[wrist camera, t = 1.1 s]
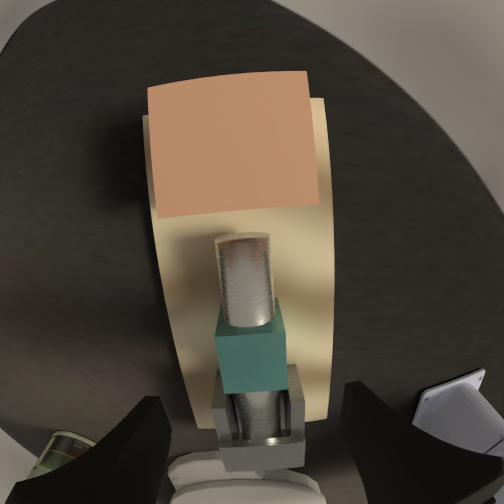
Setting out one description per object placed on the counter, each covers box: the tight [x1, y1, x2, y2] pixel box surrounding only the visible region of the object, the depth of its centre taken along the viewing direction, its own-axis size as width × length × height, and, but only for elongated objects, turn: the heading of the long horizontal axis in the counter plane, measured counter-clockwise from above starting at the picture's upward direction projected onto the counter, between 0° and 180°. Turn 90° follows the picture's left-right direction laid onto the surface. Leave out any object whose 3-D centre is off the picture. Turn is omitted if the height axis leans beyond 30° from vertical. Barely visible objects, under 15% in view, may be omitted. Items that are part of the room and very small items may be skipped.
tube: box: [214, 232, 288, 440], centre depth 16 cm, size 15×3×4 cm, turn 5°
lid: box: [167, 451, 326, 504], centre depth 23 cm, size 17×20×3 cm
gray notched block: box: [211, 364, 306, 472], centre depth 17 cm, size 6×5×4 cm
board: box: [143, 98, 334, 428], centre depth 17 cm, size 22×10×1 cm, turn 5°
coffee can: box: [26, 431, 97, 480], centre depth 16 cm, size 10×10×14 cm
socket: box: [148, 71, 319, 219], centre depth 13 cm, size 6×6×4 cm
